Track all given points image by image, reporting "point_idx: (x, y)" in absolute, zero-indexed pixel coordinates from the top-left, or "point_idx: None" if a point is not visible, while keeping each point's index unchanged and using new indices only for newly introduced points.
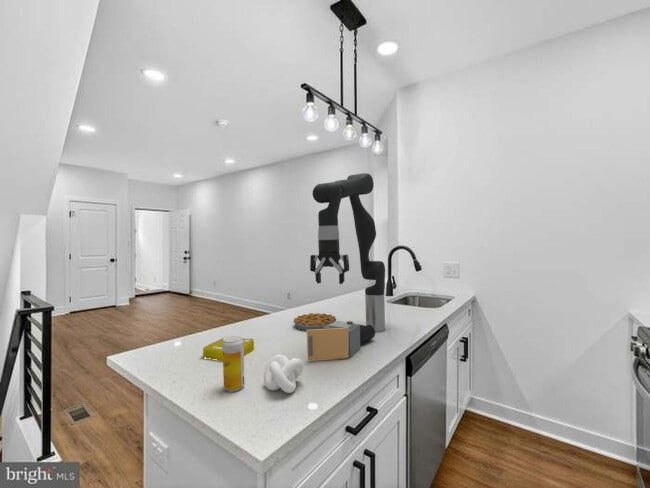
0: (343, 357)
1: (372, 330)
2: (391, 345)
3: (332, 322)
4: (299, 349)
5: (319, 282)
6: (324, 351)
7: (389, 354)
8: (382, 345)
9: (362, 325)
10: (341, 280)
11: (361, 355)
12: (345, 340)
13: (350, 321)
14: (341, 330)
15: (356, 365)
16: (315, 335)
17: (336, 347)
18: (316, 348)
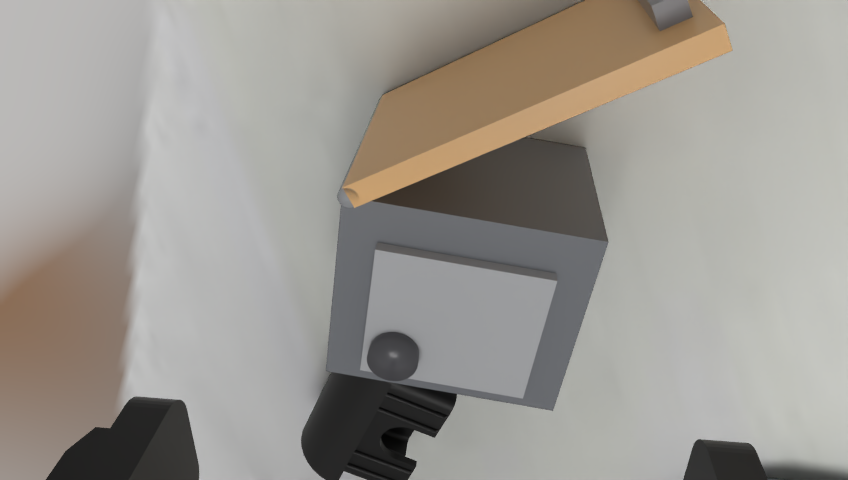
0: (412, 83)
1: (309, 433)
2: (207, 351)
3: (559, 383)
4: (784, 173)
5: (694, 473)
6: (540, 39)
7: (170, 226)
8: (255, 343)
9: (383, 477)
10: (101, 464)
11: (323, 173)
12: (378, 134)
13: (390, 373)
14: (395, 158)
15: (299, 6)
16: (627, 45)
17: (450, 86)
18: (604, 17)
